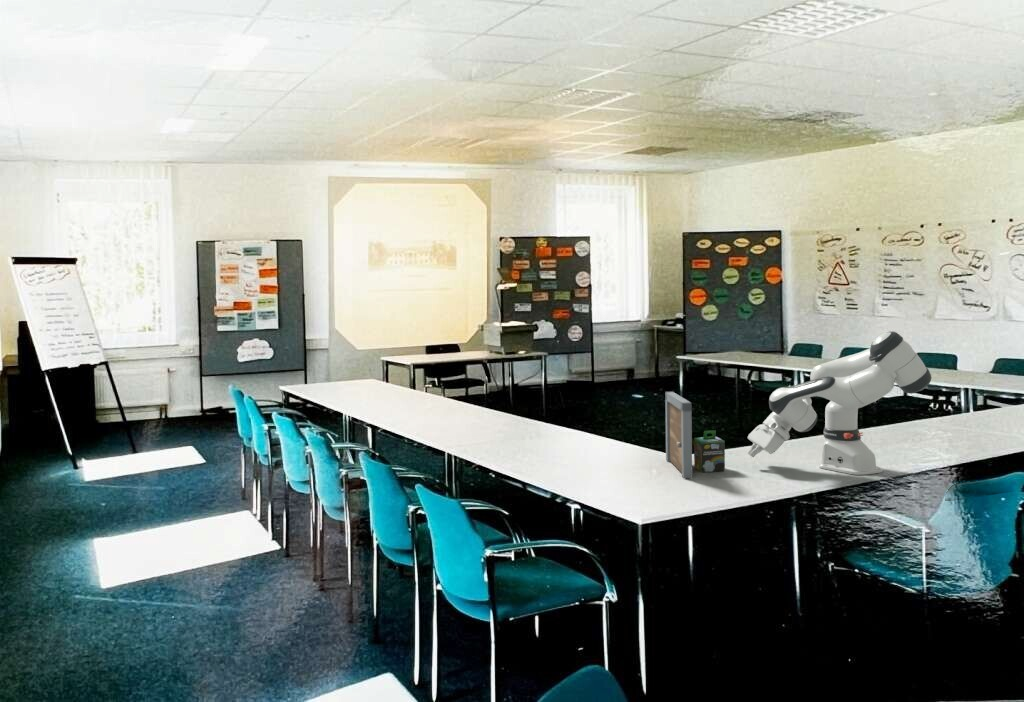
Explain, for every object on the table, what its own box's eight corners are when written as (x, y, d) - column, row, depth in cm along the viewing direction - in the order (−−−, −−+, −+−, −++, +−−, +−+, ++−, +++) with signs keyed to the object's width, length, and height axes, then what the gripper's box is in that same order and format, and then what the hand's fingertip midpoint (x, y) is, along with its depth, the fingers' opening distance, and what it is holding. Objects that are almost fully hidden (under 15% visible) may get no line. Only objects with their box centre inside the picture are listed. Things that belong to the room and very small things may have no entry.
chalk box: (717, 466, 308) (716, 427, 307) (725, 471, 299) (725, 431, 298) (693, 467, 307) (692, 428, 306) (701, 472, 298) (701, 432, 297)
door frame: (673, 459, 321) (672, 391, 319) (692, 478, 289) (691, 402, 287) (666, 460, 321) (665, 391, 319) (683, 478, 289) (682, 403, 287)
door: (674, 460, 316) (673, 402, 315) (687, 474, 293) (687, 411, 291) (666, 461, 316) (665, 402, 314) (679, 474, 293) (678, 411, 291)
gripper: (759, 416, 311) (735, 443, 312) (779, 427, 291) (753, 456, 292) (771, 427, 312) (747, 454, 313) (791, 438, 292) (766, 467, 293)
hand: (750, 455), depth 302 cm, fingers closed
